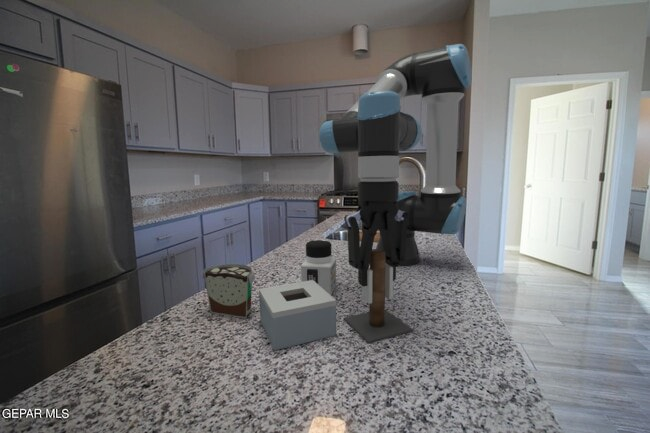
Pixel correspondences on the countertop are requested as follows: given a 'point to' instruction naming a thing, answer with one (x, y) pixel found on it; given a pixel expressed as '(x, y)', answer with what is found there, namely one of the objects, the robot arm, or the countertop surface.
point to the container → (319, 265)
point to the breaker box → (297, 313)
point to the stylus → (377, 288)
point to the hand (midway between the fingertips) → (377, 298)
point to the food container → (229, 289)
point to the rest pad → (377, 333)
